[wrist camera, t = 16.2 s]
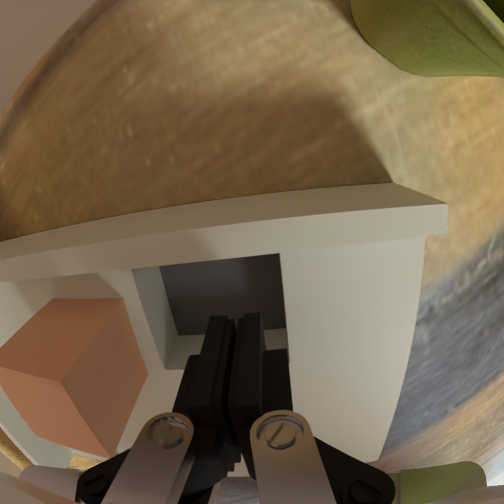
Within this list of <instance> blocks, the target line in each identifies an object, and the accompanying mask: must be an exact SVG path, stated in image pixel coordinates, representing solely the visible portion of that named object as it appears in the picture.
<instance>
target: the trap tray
mask: <svg viewBox="0 0 504 504" xmlns="http://www.w3.org/2000/svg"><path fill="white" fill-rule="evenodd" d="M447 222H448V203H445V202H443V201H440V200H438V199H435V198H433V197H430V196H428V195H425V194H423V193H420V192H418V191H415V190H412V189H410V188H407V187H404V186H402V185H399V184H396V183H382V184H366V185H352V186H339V187H327V188H316V189H306V190H295V191H286V192H277V193H268V194H259V195H251V196H243V197H235V198H227V199H220V200H213V201H206V202H199V203H192V204H185V205H179V206H172V207H166V208H160V209H154V210H148V211H142V212H137V213H131V214H126V215H120V216H115V217H109V218H104V219H99V220H94V221H89V222H84V223H79V224H75V225H70V226H65V227H61V228H56V229H52V230H47V231H43V232H38V233H34V234H30V235H26V236H22V237H18V238H14V239H10V240H6V241H2V242H0V348H1V347H2V346H3V345H4V344H5V343H6V342H7V341H8V340H9V339H10V338H11V337H12V336H13V335H14V334H15V333H16V332H17V331H18V330H19V329H20V328H21V327H22V326H23V325H24V324H25V323H26V322H27V321H28V320H29V319H30V318H31V317H32V316H34V315H35V314H36V313H37V312H38V311H39V310H40V309H41V308H42V307H43V306H44V305H46V304H47V303H48V302H49V301H50V300H51V299H52V298H69V299H101V298H124V302H125V305H126V309H127V312H128V315H129V318H130V322H131V325H132V328H133V331H134V334H135V337H136V340H137V343H138V346H139V349H140V352H141V354H142V357H143V360H144V363H145V365H146V368H147V371H148V373H149V374H148V376H147V378H146V381H145V383H144V385H143V387H142V390H141V392H140V394H139V397H138V399H137V401H136V404H135V406H134V408H133V411H132V413H131V415H130V418H129V420H128V422H127V425H126V427H125V430H124V432H123V434H122V437H121V439H120V442H119V444H118V447H117V449H116V452H115V454H114V456H116V455H118V454H120V453H122V452H124V451H125V450H127V449H129V448H131V447H132V446H133V444H134V442H135V440H136V439H137V437H138V435H139V433H140V431H141V429H142V428H143V426H144V425H145V424H146V422H147V421H148V420H150V419H151V418H152V417H154V416H156V415H159V414H162V413H167V412H172V409H173V406H174V402H175V399H176V396H177V392H178V389H179V386H180V383H181V379H182V376H183V373H184V370H185V366H186V363H187V360H188V358H189V356H190V355H197V354H200V352H201V348H202V344H203V341H204V337H205V333H206V330H207V326H208V323H209V319H210V316H218V315H227V316H228V318H229V319H234V321H235V325H236V331H237V323H238V318H244V313H254V312H261V315H262V322H263V329H264V336H265V344H266V350H273V349H283V348H287V351H288V361H289V371H290V382H291V392H292V403H293V411H294V412H296V413H299V414H301V415H302V416H303V417H304V418H305V419H306V420H307V421H308V423H309V425H310V428H311V431H312V433H313V436H315V437H316V438H318V439H320V440H322V441H323V442H325V443H327V444H329V445H331V446H333V447H335V448H336V449H338V450H340V451H342V452H344V453H346V454H348V455H350V456H352V457H354V458H356V459H358V460H360V461H362V462H364V463H368V462H372V461H377V460H378V459H379V457H380V454H381V452H382V449H383V446H384V443H385V440H386V438H387V435H388V432H389V429H390V426H391V423H392V419H393V416H394V413H395V410H396V406H397V403H398V399H399V396H400V392H401V388H402V385H403V381H404V377H405V373H406V368H407V364H408V360H409V355H410V350H411V345H412V340H413V335H414V330H415V324H416V318H417V312H418V305H419V298H420V290H421V282H422V272H423V262H424V249H425V237H426V236H435V235H443V234H447ZM0 427H1V429H2V430H3V431H4V432H5V433H6V435H7V436H8V437H9V438H10V439H11V440H12V442H13V443H14V444H15V445H16V446H17V447H18V448H19V449H20V450H21V452H22V453H23V454H24V455H25V456H26V457H27V458H28V459H29V460H30V461H31V462H32V463H33V464H34V465H39V466H47V467H56V468H66V469H67V467H68V465H69V463H70V461H71V459H72V457H73V455H74V454H77V455H81V456H85V457H88V458H92V459H96V460H100V461H106V460H108V459H109V458H105V457H101V456H97V455H93V454H89V453H86V452H82V451H79V450H76V449H72V448H69V447H66V446H63V445H60V444H57V443H54V442H51V441H49V440H46V439H43V438H41V437H38V436H36V435H35V434H34V432H33V431H32V430H31V429H30V427H29V426H28V425H27V423H26V422H25V421H24V419H23V418H22V417H21V415H20V414H19V413H18V411H17V410H16V408H15V407H14V405H13V404H12V402H11V401H10V400H9V398H8V397H7V395H6V393H5V392H4V390H3V389H2V387H1V386H0ZM226 477H249V473H248V470H247V467H246V464H245V461H244V458H243V455H242V456H241V462H240V463H235V469H234V472H228V475H227V476H226Z"/></svg>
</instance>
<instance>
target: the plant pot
mask: <svg viewBox="0 0 504 504" xmlns="http://www.w3.org/2000/svg"><path fill="white" fill-rule="evenodd" d="M350 8H351V12H352V16H353V19H354V21H355V23H356V25H357V27H358V29H359V31H360V32H361V34H362V36H363V37H364V38H365V40H366V41H367V42H368V43H369V45H370V46H371V47H373V48H374V49H375V50H377V51H378V52H379V53H381V54H382V55H384V56H385V57H386V58H387V59H389V60H390V61H391V62H392V63H393V64H395V65H396V66H397V67H398V68H400V69H402V70H404V71H406V72H409V73H411V74H415V75H419V76H424V77H441V76H487V77H502V78H504V0H350Z"/></svg>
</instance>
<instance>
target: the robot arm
mask: <svg viewBox="0 0 504 504" xmlns="http://www.w3.org/2000/svg"><path fill="white" fill-rule="evenodd" d="M242 455H243V458H244V461H245V464H246V467H247V470H248V473H249V476H251V477H252V478H253V479H255V480H256V481H257V485H258V491H259V497H260V503H261V504H504V485H498V486H489V487H487V483H486V476H485V473H484V470H483V468H482V467H480V466H479V465H478V464H477V463H474V462H471V461H468V462H459V463H454V464H448V465H442V466H436V467H429V468H421V469H412V470H401V471H400V473H397V474H386V473H384V472H383V471H381V470H379V469H377V468H374V467H372V466H370V465H368V464H366V463H364V462H362V461H360V460H358V459H356V458H354V457H352V456H350V455H348V454H346V453H344V452H342V451H340V450H338V449H336V448H335V447H333V446H331V445H329V444H327V443H325V442H323V441H322V440H320V439H318V438H316V437H315V436H313V433H312V431H311V428H310V425H309V423H308V421H307V420H306V419H305V418H304V417H303V416H302V415H301V414H299V413H296V412H294V411H293V403H292V392H291V382H290V371H289V361H288V351H287V348H283V349H273V350H266V344H265V336H264V329H263V322H262V315H261V312H254V313H244V318H238V323H237V331H236V325H235V321H234V319H229V318H228V316H227V315H218V316H210V319H209V323H208V326H207V330H206V333H205V337H204V341H203V344H202V348H201V352H200V354H197V355H190V356H189V358H188V360H187V363H186V366H185V370H184V373H183V376H182V379H181V383H180V386H179V389H178V392H177V396H176V399H175V402H174V406H173V409H172V412H167V413H162V414H159V415H156V416H154V417H152V418H151V419H150V420H148V421H147V422H146V424H145V425H144V426H143V428H142V429H141V431H140V433H139V435H138V437H137V439H136V440H135V442H134V444H133V446H132V447H131V448H129V449H127V450H125V451H124V452H122V453H120V454H118V455H116V456H114V457H112V458H110V459H108V460H106V461H104V462H102V463H100V464H98V465H96V466H94V467H92V468H90V469H88V470H87V471H85V472H81V471H80V470H79V469H66V468H56V467H47V466H39V465H30V466H28V467H26V468H25V469H24V470H23V471H22V472H21V474H20V477H19V478H17V477H15V476H12V475H9V474H6V473H3V472H0V504H215V501H216V498H217V494H218V491H219V488H220V481H221V480H222V479H223V478H225V477H226V476H227V475H228V472H234V469H235V463H240V462H241V456H242Z"/></svg>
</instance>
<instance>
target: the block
mask: <svg viewBox="0 0 504 504" xmlns="http://www.w3.org/2000/svg"><path fill="white" fill-rule="evenodd" d="M148 374H149V373H148V371H147V368H146V365H145V363H144V360H143V357H142V354H141V352H140V349H139V346H138V343H137V340H136V337H135V334H134V331H133V328H132V325H131V322H130V318H129V315H128V312H127V309H126V305H125V302H124V298H101V299H69V298H52V299H51V300H50V301H49V302H48V303H47V304H46V305H44V306H43V307H42V308H41V309H40V310H39V311H38V312H37V313H36V314H35V315H34V316H32V317H31V318H30V319H29V320H28V321H27V322H26V323H25V324H24V325H23V326H22V327H21V328H20V329H19V330H18V331H17V332H16V333H15V334H14V335H13V336H12V337H11V338H10V339H9V340H8V341H7V342H6V343H5V344H4V345H3V346H2V347H1V348H0V386H1V387H2V389H3V390H4V392H5V393H6V395H7V397H8V398H9V400H10V401H11V402H12V404H13V405H14V407H15V408H16V410H17V411H18V413H19V414H20V415H21V417H22V418H23V419H24V421H25V422H26V423H27V425H28V426H29V427H30V429H31V430H32V431H33V432H34V434H35V435H36V436H38V437H41V438H43V439H46V440H49V441H51V442H54V443H57V444H60V445H63V446H66V447H69V448H72V449H76V450H79V451H82V452H86V453H89V454H93V455H97V456H101V457H105V458H109V459H110V458H112V457H114V454H115V452H116V449H117V447H118V444H119V442H120V439H121V437H122V434H123V432H124V430H125V427H126V425H127V422H128V420H129V418H130V415H131V413H132V411H133V408H134V406H135V404H136V401H137V399H138V397H139V394H140V392H141V390H142V387H143V385H144V383H145V381H146V378H147V376H148Z"/></svg>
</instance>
